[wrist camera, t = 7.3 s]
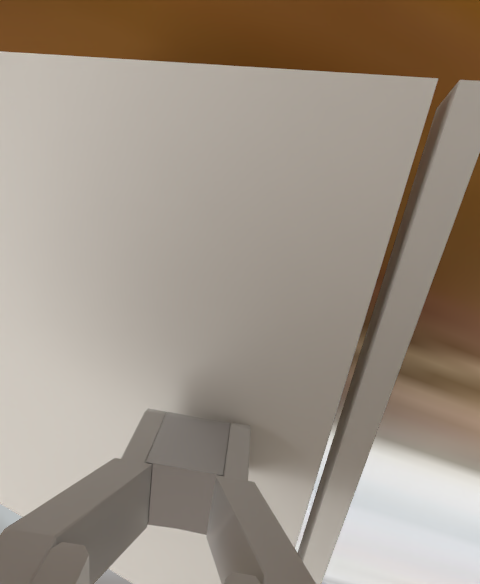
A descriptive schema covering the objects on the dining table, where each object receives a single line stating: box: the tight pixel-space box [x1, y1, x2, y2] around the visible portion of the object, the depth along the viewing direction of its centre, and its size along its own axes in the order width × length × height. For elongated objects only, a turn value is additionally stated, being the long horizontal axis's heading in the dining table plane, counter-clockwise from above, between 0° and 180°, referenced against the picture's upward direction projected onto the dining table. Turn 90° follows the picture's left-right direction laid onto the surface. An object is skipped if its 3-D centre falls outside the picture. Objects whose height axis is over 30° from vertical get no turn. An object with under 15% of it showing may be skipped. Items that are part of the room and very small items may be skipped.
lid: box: [0, 52, 480, 584], centre depth 11 cm, size 13×17×2 cm
